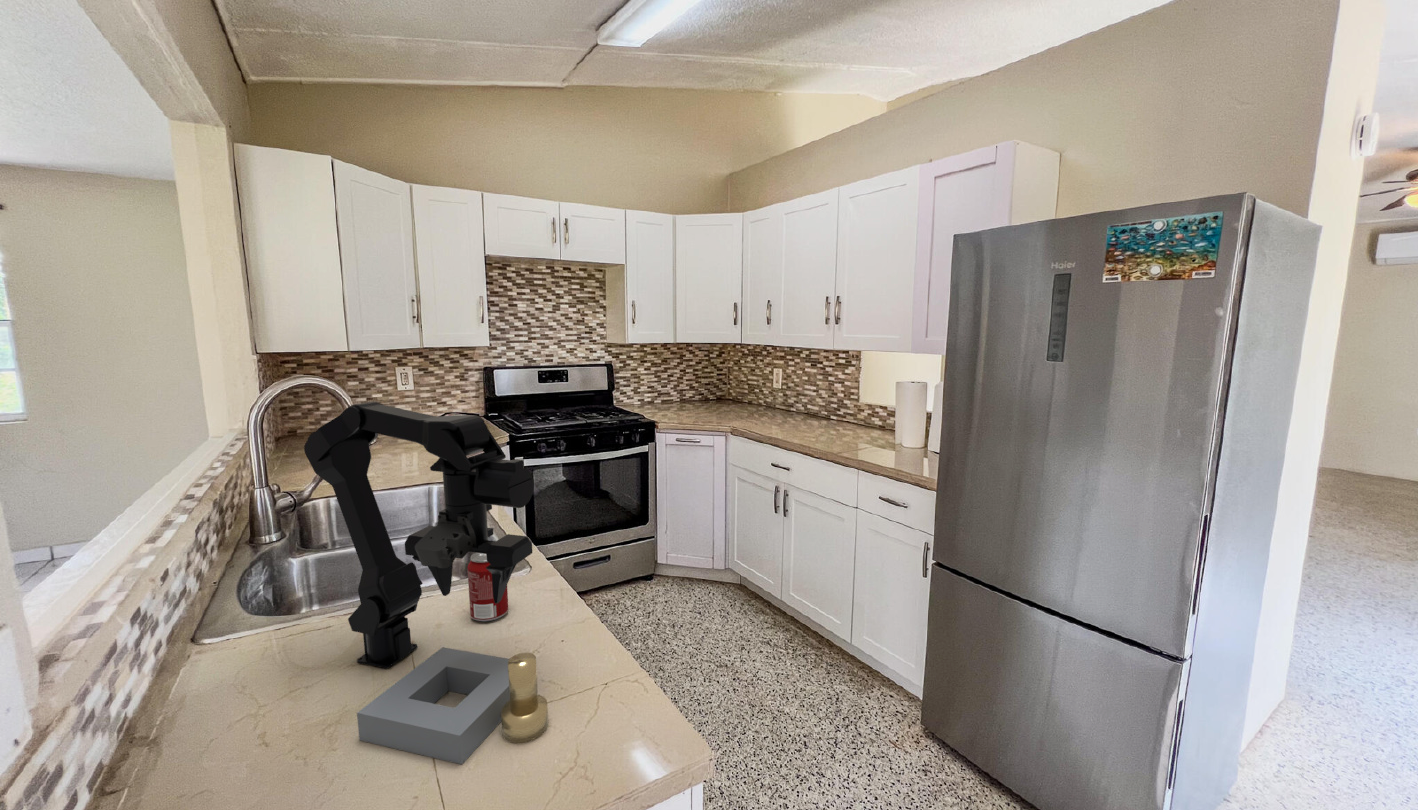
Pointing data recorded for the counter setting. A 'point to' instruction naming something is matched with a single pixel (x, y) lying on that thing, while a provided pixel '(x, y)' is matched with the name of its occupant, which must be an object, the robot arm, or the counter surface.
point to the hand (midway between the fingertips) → (471, 598)
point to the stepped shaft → (523, 702)
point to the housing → (440, 706)
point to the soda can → (483, 591)
